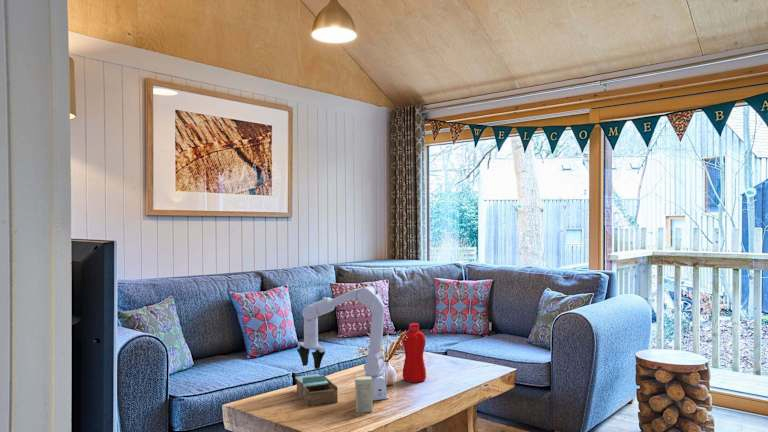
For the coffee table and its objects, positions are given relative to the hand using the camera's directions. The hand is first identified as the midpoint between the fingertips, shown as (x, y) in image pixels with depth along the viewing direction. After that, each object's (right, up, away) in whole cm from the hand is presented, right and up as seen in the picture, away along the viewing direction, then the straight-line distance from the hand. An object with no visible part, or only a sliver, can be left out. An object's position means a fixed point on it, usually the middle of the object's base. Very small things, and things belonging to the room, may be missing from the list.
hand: (311, 366), depth 238 cm
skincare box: (+23, -11, -23) cm, 34 cm away
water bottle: (+43, -10, +17) cm, 47 cm away
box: (+3, -10, -8) cm, 14 cm away
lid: (0, -5, -2) cm, 6 cm away
